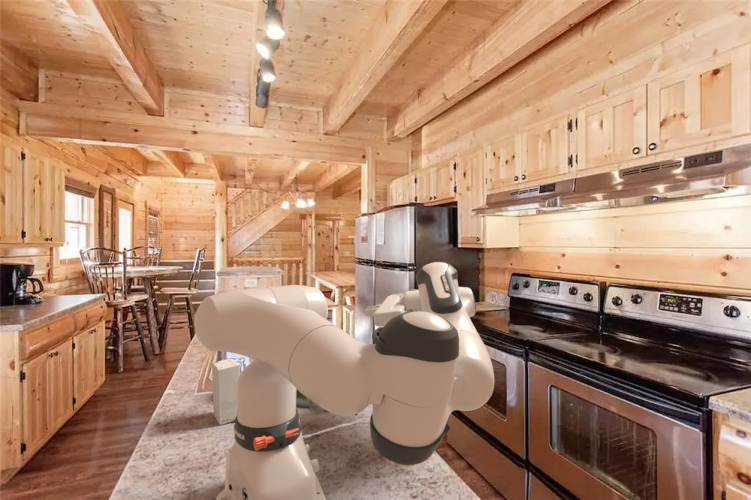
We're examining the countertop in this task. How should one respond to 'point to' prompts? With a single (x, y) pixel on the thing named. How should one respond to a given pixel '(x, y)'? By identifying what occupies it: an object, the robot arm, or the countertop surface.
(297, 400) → the fixture plate
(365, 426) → the countertop surface
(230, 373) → the skincare box
